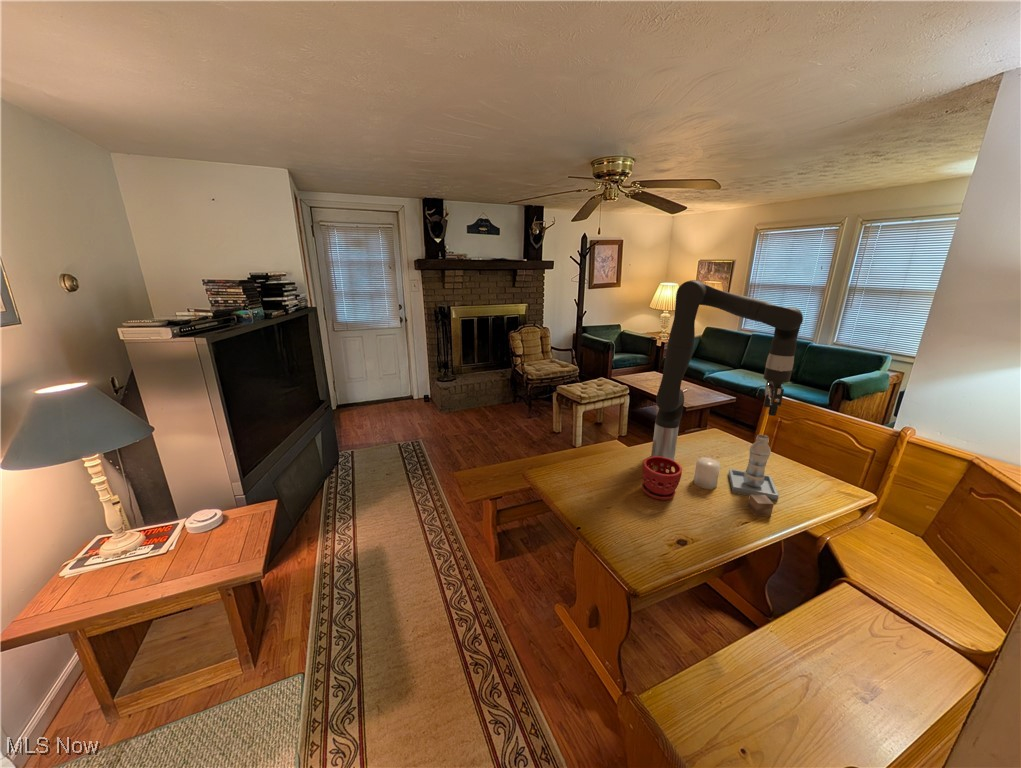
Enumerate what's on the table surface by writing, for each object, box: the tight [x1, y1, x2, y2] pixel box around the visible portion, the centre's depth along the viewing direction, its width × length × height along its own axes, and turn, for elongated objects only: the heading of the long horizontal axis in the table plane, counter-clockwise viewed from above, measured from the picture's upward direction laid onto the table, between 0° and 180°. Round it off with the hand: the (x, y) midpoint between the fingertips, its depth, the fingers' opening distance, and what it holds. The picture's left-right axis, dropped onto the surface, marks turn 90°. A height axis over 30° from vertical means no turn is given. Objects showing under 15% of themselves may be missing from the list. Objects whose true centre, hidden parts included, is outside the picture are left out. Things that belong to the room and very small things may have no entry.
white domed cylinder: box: [693, 456, 721, 490], centre depth 143 cm, size 8×8×9 cm
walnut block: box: [747, 494, 775, 517], centre depth 127 cm, size 5×5×5 cm
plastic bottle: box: [743, 434, 772, 487], centre depth 138 cm, size 6×7×20 cm
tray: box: [728, 468, 780, 502], centre depth 141 cm, size 14×14×2 cm
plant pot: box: [641, 456, 683, 501], centre depth 136 cm, size 13×13×12 cm
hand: (769, 410), depth 133 cm, fingers open, 8 cm apart
